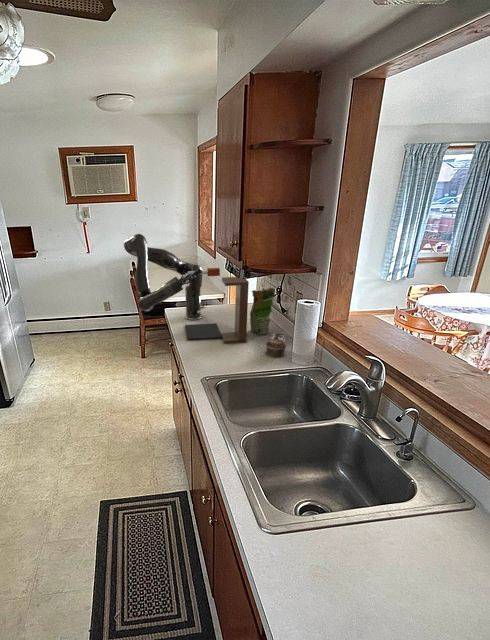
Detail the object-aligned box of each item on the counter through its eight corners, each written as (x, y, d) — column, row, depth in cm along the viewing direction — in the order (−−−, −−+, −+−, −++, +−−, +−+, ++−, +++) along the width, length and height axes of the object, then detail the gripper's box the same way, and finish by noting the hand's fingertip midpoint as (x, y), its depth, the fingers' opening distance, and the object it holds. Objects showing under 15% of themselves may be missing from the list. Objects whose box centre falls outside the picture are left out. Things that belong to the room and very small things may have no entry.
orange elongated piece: (187, 275, 201) (187, 269, 200) (218, 274, 202) (218, 267, 200) (188, 277, 198) (188, 270, 196) (219, 275, 198) (219, 269, 197)
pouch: (272, 329, 220) (276, 285, 209) (268, 336, 210) (271, 291, 199) (253, 327, 224) (255, 284, 213) (247, 334, 214) (249, 289, 204)
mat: (185, 326, 230) (185, 324, 229) (215, 324, 230) (215, 323, 230) (188, 340, 210) (188, 338, 209) (221, 338, 210) (221, 336, 210)
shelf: (220, 335, 215) (221, 277, 201) (241, 334, 215) (243, 276, 201) (224, 343, 204) (225, 283, 190) (246, 342, 204) (248, 281, 190)
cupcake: (266, 349, 195) (267, 330, 191) (286, 350, 192) (287, 331, 188) (264, 356, 187) (265, 337, 183) (284, 358, 184) (286, 339, 180)
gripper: (168, 284, 194) (198, 265, 191) (168, 278, 206) (196, 260, 203) (176, 297, 197) (206, 278, 194) (175, 290, 209) (203, 272, 206)
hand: (200, 269), depth 198 cm, fingers closed on orange elongated piece
